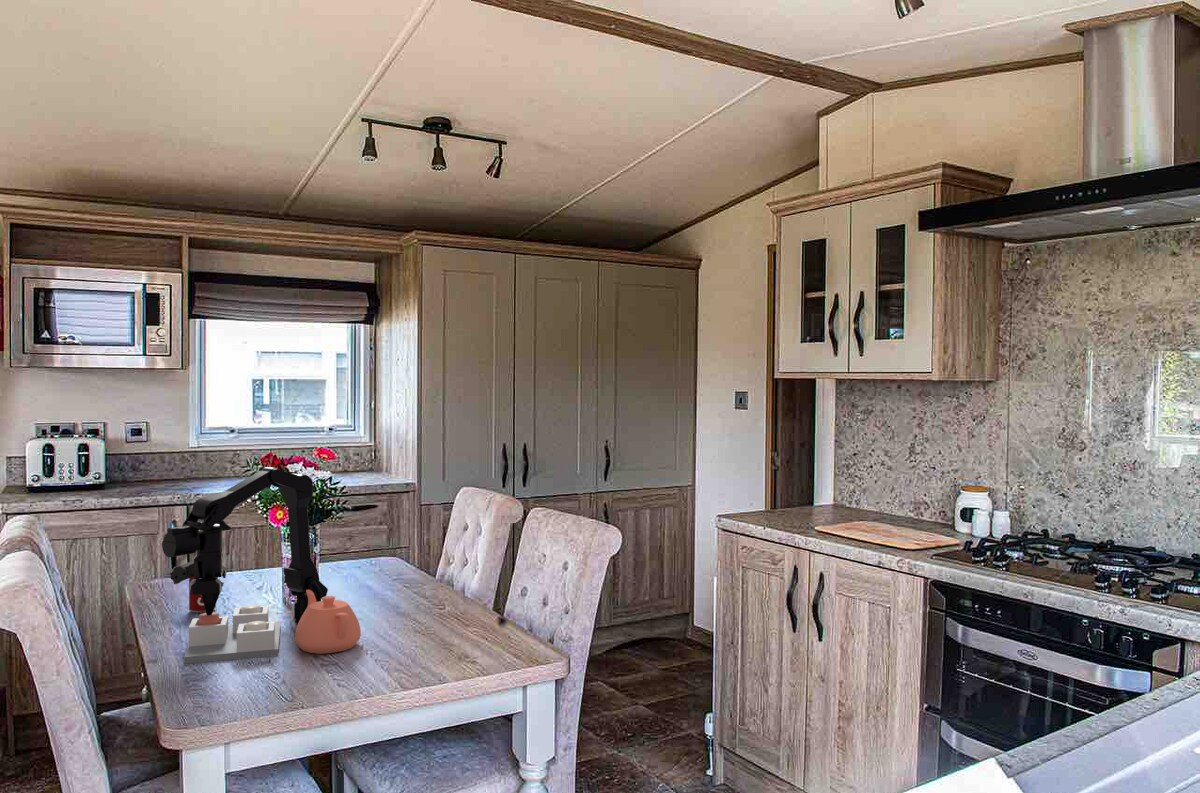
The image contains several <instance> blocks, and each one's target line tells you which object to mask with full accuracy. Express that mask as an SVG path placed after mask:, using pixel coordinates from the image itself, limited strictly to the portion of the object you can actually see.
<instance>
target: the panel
mask: <svg viewBox="0 0 1200 793" xmlns="http://www.w3.org/2000/svg"><path fill="white" fill-rule="evenodd" d="M259 606H260V613H249V614H242V607H243V606H242V607H241V606H239V607H235V608H234V611H233V614H232V624H231V625H229V616H228V615H227V616H219V624H214V625H200V626H199V617H198V618H192V620H191V622H190V624H189V626H188V647H187V650H186V652H185V655H184V658H183V659H184V660H183V661H184V662H183V664H194V663H195V664H196V663H208V662H217V661H219V662H220V661H231V660H241V659H253V658H264V657H275V656H276V657H277V656H279V650H280V649H279V648H280V640H281V627H282V624H281V622H282V621H269V607H270V606H269V605H268V604H267V605H259ZM253 621H264V622H266V630H254V631H246V624H247V623H249V622H253Z"/></svg>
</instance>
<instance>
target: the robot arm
mask: <svg viewBox="0 0 1200 793" xmlns="http://www.w3.org/2000/svg"><path fill="white" fill-rule="evenodd" d="M271 486H272V487H275V488H279V491H280V495H281V498H282V500H283V502H284V504H285V505H286V507H287V510H288V512H287V513H288V525H289V527H288V528H289V540H290V542H289V543H290V552H291V555H290V556H291V560H290V561H291V562H290V563H289V565H288V566H287V567H284V568H283V573H284V580H283V583H284V584H286V587H287V588H288V589H289V591H290V594H291V596H293V597H296V601H294V606H293V611H294V612H293V613H294V615H293V617H294V619H295V623H297V624H298V623H299V621H300V619H301V617H302V615H303V613H304V612H305V610H306V608H307V607H308V596H307V593H306V590H311V591H312V592H313V593H314V595H315V598H316V602H319V601H322V597H325V596H328V591H329V589H328V587H327V586H326V585H324V583H322V581H320V580H321V579H320V576H319V572H318V568H317V566H316V565H315V563H314V561H313V559H312V554H311V552H312V551H311V539H310V525H309V509H308V506H309V504H310V502H311V500H312V497H313V490H314V482H313V479H312V478H311V477H310V476H309V475H307V474H301V473H291V472H289V471H288V472H287V471H284V470H281V469H279V468H278V467H271V466H265V467H262V469H260V471H258V472H256V473H254V474H252V475H250V476H249V477H247V478H245V479H244V480H243V479H242V481H240V482H238V483H237V484H235V485H233V486H231V487H230V488H227V489H226V490H224V491H220V492H217V493H212V494H209V495H206V496H203V497H201V498H198V499H197V500H195V501H194V503H193V505H192V507H191V508H192V509H191V511H190V512H189V514H188V516H187V517H186V518H185V519H184V522H183V523H182V525H181V526H178V527H175V526H172V527H168V528H167V532H166V533H165V534H164V536H163V539H162V541H161V548H162V551H163V553H164V555H165V556H166V557H167V558H173V557H174V558H175V557H180V556H181V557H182V556H186V555H192V554H193V555H194V554H195V553H196V554H195V557H193V561H189V562H186V563H183V564H179V565H177V566H174V567H173V568H171V569H170V570H169V575H170V580H172V582H173V585H177V584H180V583H181V582H183V581H186V580H189V578H191V577H193V576H194V579H196V580H195V581H194V582H193V583H192V585H191V594H193V595H195V594H200V595H201V596H202V599H203V603H204V607H205V610H206V614H207V615H212V613H213V612H214V610H215V609H214V607H215V605H216V604H217V602H218V599H219V597H220V595H221V591H222V589H223V587H224V585H225V582H224V581H222V580H220V578H222V579H226V578H227V568H226V567H225V566H224V565H223V557H224V551H223V531H229V530H231V529H232V527H231V526H230V525H228V524H227V522H225V519H226V518H228V517H229V516H230V515H231V514H232V513H233V511H234V510H235V508H236V507H238V506H239V505H240V504H242V503H243V502H246V501H247V500H249V499H250V498H252V497H254V496H256V495H257V494H259V493H260V492H262V491H264V490H265V489H267V488H269V487H271ZM216 606H217V605H216Z"/></svg>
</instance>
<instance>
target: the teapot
mask: <svg viewBox="0 0 1200 793" xmlns="http://www.w3.org/2000/svg"><path fill="white" fill-rule="evenodd" d="M306 593H307V596H308V607H307V608H306V610H305V612H304V613H303V615H302V617H301V619H300V621H299V622H298V623H297V626H296V629H295V635H294V640H295V643H296V644H297V646H298V647H299V648H300V649H301V650H302V651H304V652H307V653H311V654H319V655H320V654H321V655H322V654H323V655H325V654H333V653H338V652H344V651H347V650H350V649H351V648H353V647H355V646H356V644H357V643H358V641H359V640H360V638H361V635H362V633H361V632H362V630H361V626H360V622H359V620H358V619H359V618H358V617H357V615H356V614H355V612H354V611H353V608H352V607H351V606H350V604H349V602H347V601H344V600H337V599H336V596H334V595H326V596H325V597H322V599H321V601H319V602H316V598H315V595H314V593H313V592H312V591H311V590H306Z"/></svg>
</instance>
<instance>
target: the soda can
mask: <svg viewBox="0 0 1200 793" xmlns="http://www.w3.org/2000/svg"><path fill="white" fill-rule="evenodd" d="M195 580H196V579H194V576H193V577H191V578H189V579H188V610H189V611H190V612H192V613H193V614H203V613H206V610H205V607H204V603H203V599H202V596H201V595H200V594H195V595H193V594H191V585H192V583H193V582H194V581H195ZM216 607H217V605H215V607H214V610H215V609H216Z"/></svg>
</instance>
